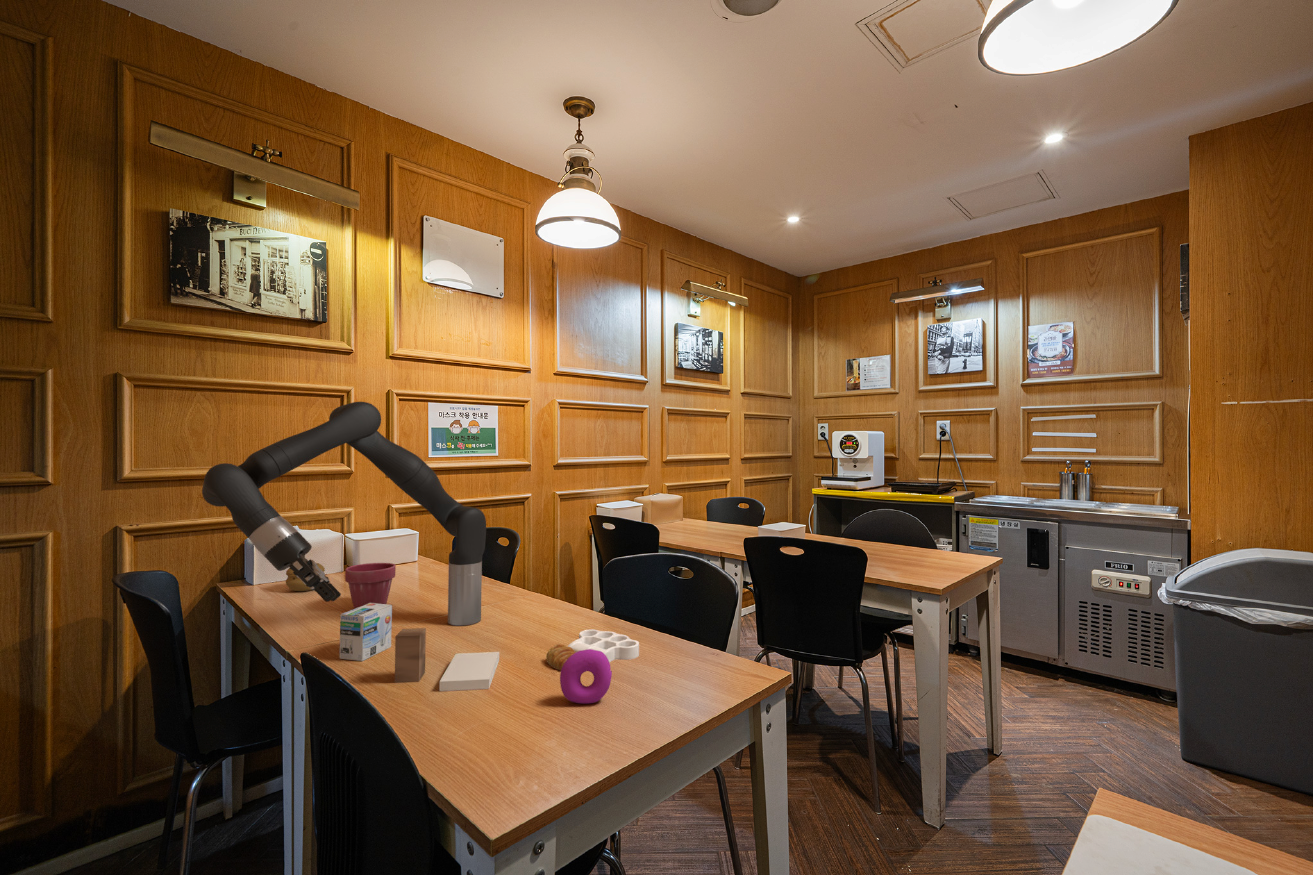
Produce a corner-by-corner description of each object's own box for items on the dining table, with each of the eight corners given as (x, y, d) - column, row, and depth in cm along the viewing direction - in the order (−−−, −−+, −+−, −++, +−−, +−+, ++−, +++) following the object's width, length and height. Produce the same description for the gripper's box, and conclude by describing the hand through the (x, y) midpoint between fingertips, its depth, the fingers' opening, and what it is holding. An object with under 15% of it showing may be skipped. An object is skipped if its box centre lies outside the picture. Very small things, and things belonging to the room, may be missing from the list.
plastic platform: (455, 662, 133) (455, 653, 133) (499, 660, 134) (499, 651, 134) (439, 691, 117) (439, 681, 117) (489, 688, 118) (489, 679, 118)
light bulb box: (362, 662, 132) (363, 616, 132) (337, 659, 134) (338, 614, 134) (392, 646, 143) (393, 603, 143) (369, 644, 144) (370, 602, 144)
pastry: (585, 669, 130) (585, 652, 130) (558, 675, 126) (558, 658, 126) (569, 656, 138) (569, 640, 138) (543, 662, 134) (543, 646, 134)
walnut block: (401, 673, 126) (402, 628, 126) (425, 672, 126) (425, 627, 127) (394, 682, 121) (395, 636, 121) (418, 681, 121) (419, 635, 122)
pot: (276, 593, 193) (277, 563, 193) (303, 585, 204) (304, 557, 204) (306, 595, 191) (307, 565, 191) (332, 586, 202) (332, 558, 202)
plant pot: (364, 600, 185) (365, 561, 185) (404, 602, 183) (404, 562, 183) (333, 612, 171) (334, 570, 171) (376, 615, 169) (377, 572, 169)
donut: (591, 714, 107) (591, 661, 108) (554, 702, 112) (555, 652, 112) (615, 698, 114) (616, 649, 114) (580, 688, 119) (580, 640, 119)
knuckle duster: (557, 653, 140) (597, 637, 152) (612, 671, 129) (650, 652, 141) (557, 639, 140) (597, 625, 152) (612, 656, 129) (650, 639, 141)
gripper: (290, 527, 114) (346, 585, 115) (303, 533, 127) (353, 585, 128) (254, 553, 111) (313, 613, 112) (271, 557, 123) (323, 610, 125)
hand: (334, 598), depth 120 cm, fingers open, 8 cm apart
